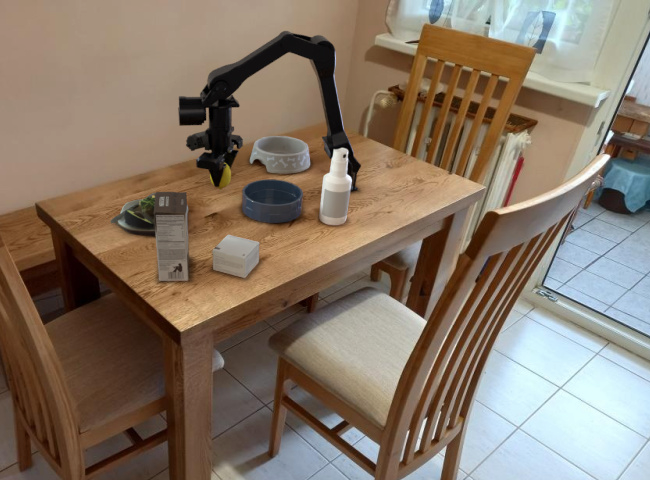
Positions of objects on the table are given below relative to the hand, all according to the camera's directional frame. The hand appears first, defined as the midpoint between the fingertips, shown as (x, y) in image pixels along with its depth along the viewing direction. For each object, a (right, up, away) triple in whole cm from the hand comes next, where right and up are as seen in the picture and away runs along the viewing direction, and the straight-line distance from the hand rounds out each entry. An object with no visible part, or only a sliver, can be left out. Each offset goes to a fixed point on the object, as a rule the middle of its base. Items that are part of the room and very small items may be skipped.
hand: (220, 182), depth 153 cm
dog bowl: (+17, +10, +20) cm, 28 cm away
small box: (+5, -24, -28) cm, 37 cm away
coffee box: (-8, -25, -30) cm, 40 cm away
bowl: (+13, -8, -6) cm, 17 cm away
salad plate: (-16, -12, -13) cm, 24 cm away
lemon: (0, -2, +1) cm, 2 cm away
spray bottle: (+29, -11, -9) cm, 32 cm away
